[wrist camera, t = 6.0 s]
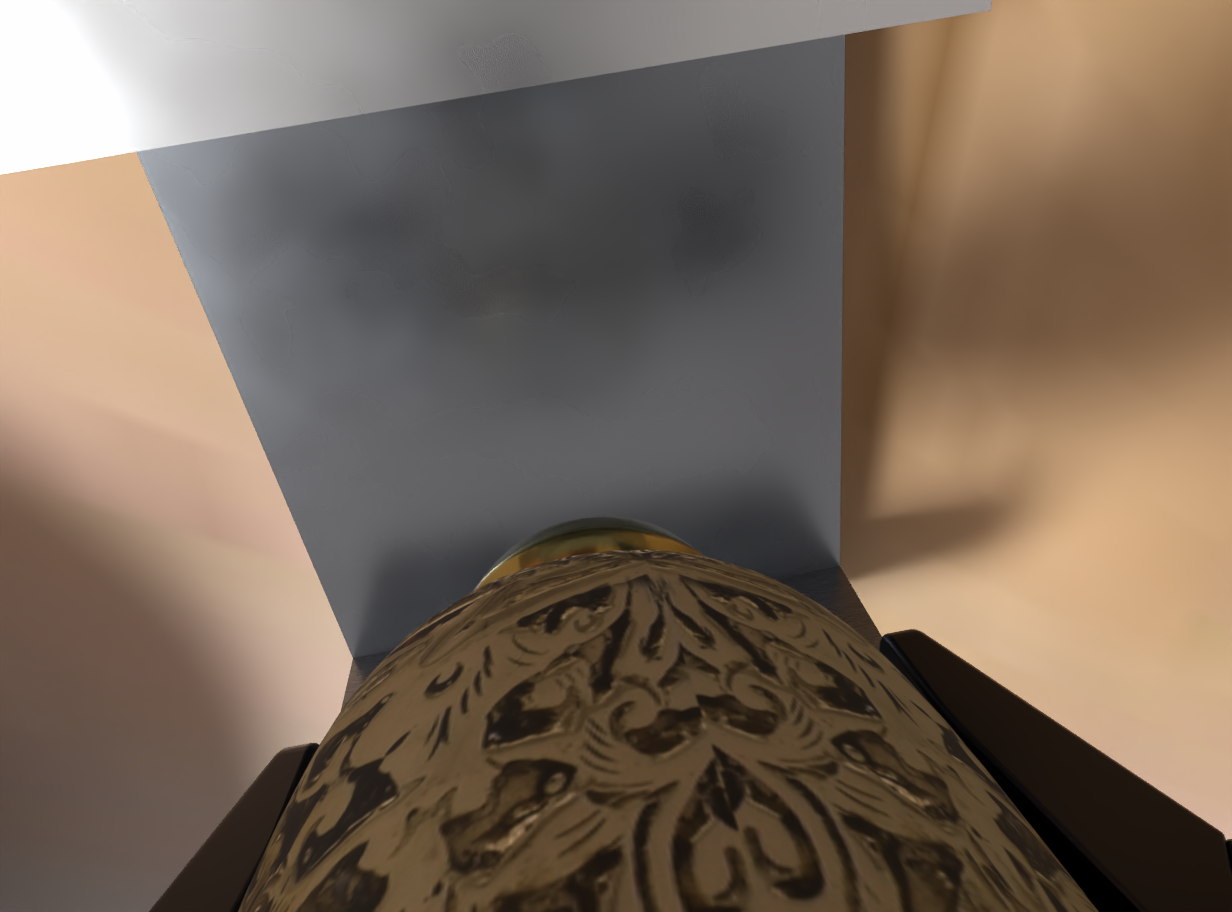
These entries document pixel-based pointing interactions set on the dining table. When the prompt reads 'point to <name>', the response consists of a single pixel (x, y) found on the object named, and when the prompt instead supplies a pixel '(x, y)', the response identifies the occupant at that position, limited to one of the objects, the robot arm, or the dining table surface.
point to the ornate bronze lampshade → (646, 757)
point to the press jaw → (348, 58)
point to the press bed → (538, 323)
